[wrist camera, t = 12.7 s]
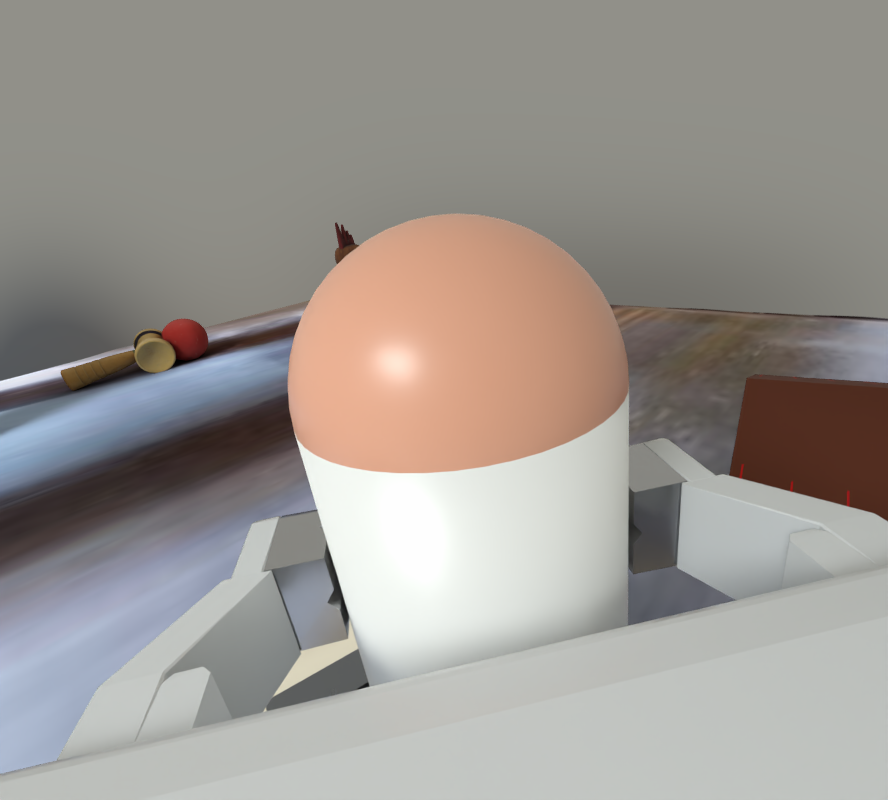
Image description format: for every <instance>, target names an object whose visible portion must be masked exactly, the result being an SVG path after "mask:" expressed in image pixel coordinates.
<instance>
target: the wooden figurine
mask: <svg viewBox="0 0 888 800" xmlns="http://www.w3.org/2000/svg"><path fill="white" fill-rule="evenodd" d="M335 227H336V232H337V238H338V243H339V248H337V249H336V251H335V260H336V263H337V264H338V263H339V262H340V261H341V260H342V259H343V258H344V257H345V256H346V255H348V254H349V253H350V252H352V251H353V250H354V249H356V248H357V247H358V246H359V245H355V243H354V240H353V238H352V235H349V233H348V231H345V230H344V227H343V225H341V231H340V229H339V227H338V224H337V223H335ZM341 233H342V234H341Z"/></svg>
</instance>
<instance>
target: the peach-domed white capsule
mask: <svg viewBox="0 0 888 800" xmlns="http://www.w3.org/2000/svg"><path fill="white" fill-rule="evenodd" d="M288 396H289V410H290V415H291V419H292V424H293V428H294V433H295V436H296V439H297V443H298V446H299V449H300V453H301V456H302V460H303V463H304V466H305V470H306V473H307V476H308V480H309V483H310V487H311V490H312V493H313V497H314V500H315V504H316V507H317V510H318V514H319V517H320V520H321V524H322V527H323V531H324V534H325V537H326V541H327V544H328V548H329V551H330V554H331V558H332V561H333V564H334V568H335V571H336V575H337V578H338V581H339V585H340V588H341V591H342V595H343V598H344V602H345V605H346V608H347V612H348V615H349V619H350V622H351V625H352V629H353V632H354V635H355V639H356V642H357V646H358V649H359V652H360V656H361V659H362V663H363V666H364V669H365V673H366V676H367V679H368V683H369V686H370V687H371V686H376V685H380V684H384V683H388V682H393V681H397V680H401V679H405V678H410V677H414V676H418V675H422V674H427V673H431V672H435V671H439V670H444V669H448V668H452V667H456V666H460V665H465V664H469V663H473V662H477V661H482V660H486V659H490V658H494V657H499V656H503V655H507V654H511V653H515V652H520V651H524V650H528V649H532V648H536V647H541V646H545V645H549V644H553V643H557V642H562V641H566V640H570V639H574V638H578V637H583V636H587V635H591V634H595V633H600V632H604V631H608V630H612V629H616V628H621V627H625V626H628V521H629V374H628V360H627V355H626V351H625V346H624V342H623V338H622V335H621V332H620V329H619V327H618V324H617V321H616V319H615V316H614V314H613V311H612V309H611V307H610V305H609V303H608V302H607V300H606V298H605V296H604V295H603V293H602V291H601V290H600V288H599V287H598V286H597V285H596V283H595V282H594V281H593V279H592V278H591V277H590V275H589V274H588V273H587V271H586V270H585V269H584V268H583V267H582V266H580V265H579V264H578V263H577V262H576V261H575V260H574V259H573V258H572V257H571V256H570V255H569V254H568V253H567V252H566V251H564V250H563V249H561V248H560V247H558V246H557V245H556V244H554V243H553V242H552V241H550V240H549V239H547V238H545V237H544V236H542V235H540V234H538V233H536V232H534V231H532V230H530V229H528V228H526V227H523V226H520V225H518V224H515V223H512V222H509V221H506V220H503V219H498V218H493V217H488V216H483V215H473V214H445V215H434V216H428V217H424V218H419V219H415V220H410V221H408V222H405V223H402V224H399V225H397V226H394V227H392V228H389V229H386V230H385V231H383V232H381V233H379V234H377V235H376V236H374V237H372V238H370V239H368V240H367V241H365V242H364V243H362V244H361V245H360V246H358V247H357V248H356V249H354V250H353V251H352V252H350V253H349V254H348V255H346V256H345V257H344V258H343V259H342V260H341V261H340V262H339V263H338V264H337V265H336V266H335V267H334V268H333V269H332V270H331V271H330V272H329V274H328V275H327V276H326V278H325V279H324V280H323V282H322V283H321V284H320V286H319V287H318V288H317V290H316V291H315V293H314V295H313V297H312V298H311V300H310V302H309V304H308V306H307V307H306V309H305V311H304V313H303V315H302V318H301V320H300V323H299V326H298V328H297V331H296V334H295V336H294V341H293V345H292V350H291V354H290V360H289V373H288Z"/></svg>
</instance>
